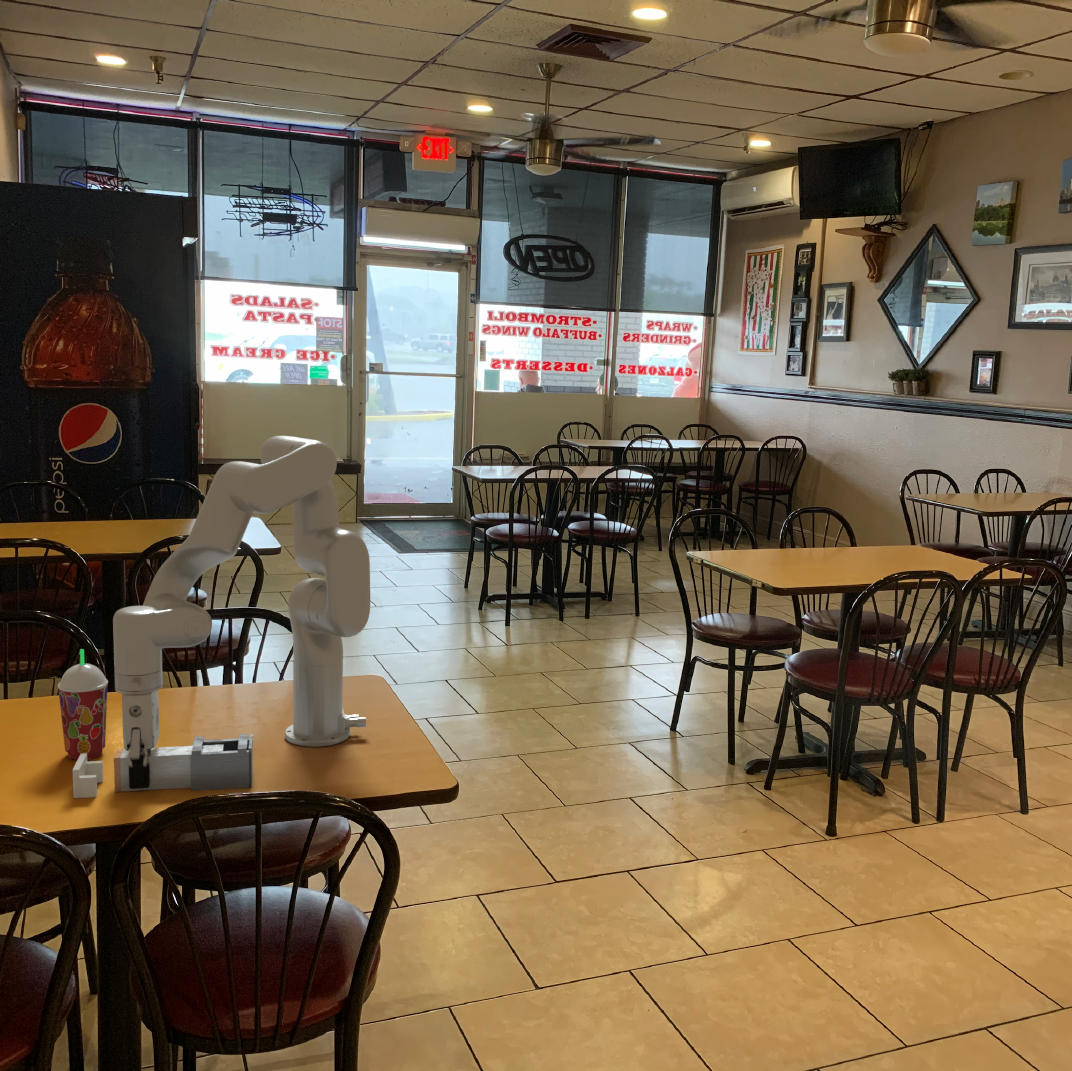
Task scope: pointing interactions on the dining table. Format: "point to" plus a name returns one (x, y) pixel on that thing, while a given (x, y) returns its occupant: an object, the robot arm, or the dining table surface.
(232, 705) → the dining table surface
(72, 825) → the dining table surface
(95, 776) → the socket
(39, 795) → the dining table surface
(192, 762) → the sleeve
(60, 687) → the smoothie
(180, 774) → the grey two-tone block
